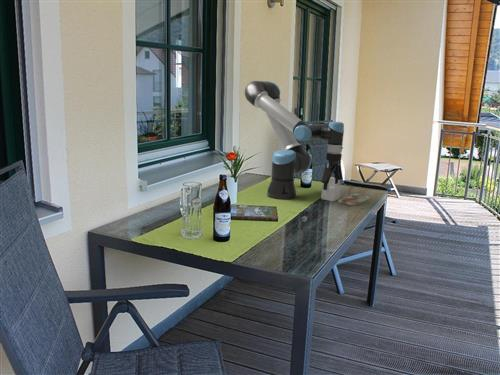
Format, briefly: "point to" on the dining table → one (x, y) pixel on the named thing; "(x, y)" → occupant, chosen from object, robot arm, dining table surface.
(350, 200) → the coaster board
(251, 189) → the dining table surface
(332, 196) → the medicine bottle
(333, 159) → the robot arm
